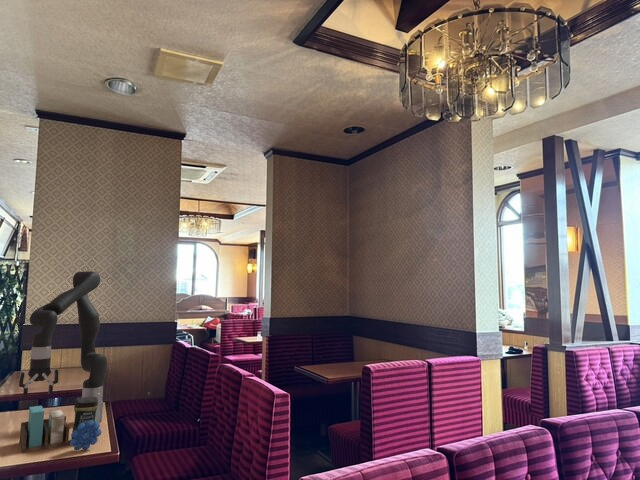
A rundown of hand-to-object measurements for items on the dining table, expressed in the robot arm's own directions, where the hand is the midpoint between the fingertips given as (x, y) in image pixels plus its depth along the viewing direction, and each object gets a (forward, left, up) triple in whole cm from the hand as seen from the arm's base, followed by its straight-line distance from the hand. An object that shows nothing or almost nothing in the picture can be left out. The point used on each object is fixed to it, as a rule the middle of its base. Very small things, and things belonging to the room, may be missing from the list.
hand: (37, 395), depth 191 cm
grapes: (-17, +16, -21) cm, 31 cm away
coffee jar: (-18, +4, -21) cm, 28 cm away
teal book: (0, 0, -20) cm, 20 cm away
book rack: (-4, 0, -21) cm, 21 cm away
